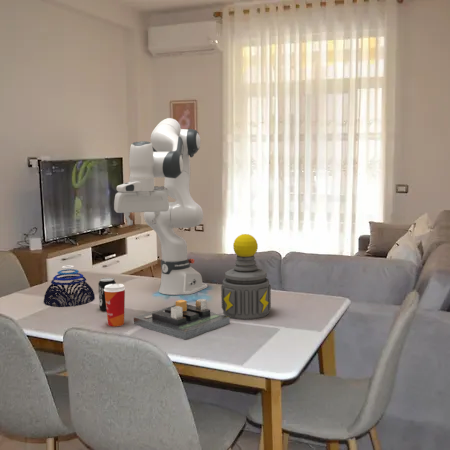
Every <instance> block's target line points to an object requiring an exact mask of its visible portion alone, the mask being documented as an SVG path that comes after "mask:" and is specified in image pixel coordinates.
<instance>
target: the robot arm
mask: <svg viewBox="0 0 450 450" xmlns="http://www.w3.org/2000/svg"><path fill="white" fill-rule="evenodd" d="M181 127H182V126H181V124H180V122H179V121H177V119H175V118H172V117H167V118H165V119H162V120H161V121H159V123H158V124H157V125H156V126H155V128H154V129H153V130H152V132H151V135H150V141H145V140H144V141H143V140H141V141H134V142H133V143H131V145H130V149H129V156H128V158H129V159H128V166H129V171H130V172H129V173H130V175H129V178H128V179H129V181H127V182H124V183H121V184H119V185H117V186H116V191H117V192H116V193H115V196H114V201H113V210H114V211H115V212H116V213H118V214H123V215H124V218H125V220H126V222H127V223H126V224H127V226H133V225H134V223H133V222H134V220H133V219H131V217H130V216H131V214H132V213H143V219H144V222H145V223H146V225H147V226H148V227H150V228H151V229H152V230H153V231H154V232H155V233H156V235H157V237H158V239H159V242H160V249H161V251H160V252H161V260H160V268H161V269H160V270H161V275H160V277H161V278H160V284H159V285H160V286H159V289H158V292H159V293H160V294H163V295H168V296H169V295H172V296H173V295H175V296H176V295H177V296H178V295H192V294H195V293H197V292H200V291H203V290H204V289H206V288H209V287H208V284H206V283H205V282H204V283H203V277H202V275H201V273H200V272H199V271H198V270H196V269H195V268H193V267H192V266H191V264H193V265H194V263H195V259H194V258H188V243H187V240H186V239H185V238H184V237H183V236H180V235H178V234H177V233H176V232H175V230H174V228H175V229H185V228H186V229H188V228H189V229H190V228H194V227H199V226H200V225H201V223H202V221H203V219H204V211H203V207H201V205H200V204H199V203H197V202H196V201H195V200H194V199H193V197H192V194H191V193H190V181H191V160H190V158H193V157H194V155H195V154H197V153H198V151H199V150H200V148H201V141H202V140H201V136H200V133H199V131H198V130H197V129H193V128H189V129H187V128H181ZM155 178H164V185H162V186H156V185H155ZM169 197H170V198H171V199H174V200H175V201H173V202H171V201H169Z"/></svg>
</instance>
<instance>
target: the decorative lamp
mask: <svg viewBox="0 0 450 450" xmlns="http://www.w3.org/2000/svg"><path fill="white" fill-rule="evenodd" d="M258 247H259V246H258V241H257V239H256V238H255V237H254V236H253V235H251V234H249V233H248V234H247V233H241V234H240V235H238V236H237V237H236V238H235V239H234V241H233V247H232V248H233V251H234V253H235V254H236V260H235V262H234V263H235V265H234V267H233V268H231V269H229V270H227V271H225V272H224V274H225V275H224V279H222V284H221V287H220V288H221V290H220V291H221V294H220V295H221V296H220V297H221V309H222V311H223V312H222V314H223V315H225V316H229V317H230V318H231V319H236V320H237V319H238V320H255V319H256V320H257V319H262V318H265V317H267V315H268V314H269V313H270V310H271V306H272V303H271V300H272V299H271V297H272V296H271V295H272V293H271V288H272V287H271V284H270V280H269V279H268V276H267V271H265V270H263V269H262V268H258V265H257V261H256V260H255V259H256V257H255V254H256V253H257V251H258Z"/></svg>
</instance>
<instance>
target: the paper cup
mask: <svg viewBox="0 0 450 450" xmlns="http://www.w3.org/2000/svg"><path fill="white" fill-rule="evenodd" d="M104 291H105V300H106V310H107V311H106V319H107V325H108V326H109V327H113V328H114V327H120V326H123V325H124V324H125V298H126V287H125V285H124V284H123V283H116V284H109V285H106V286H105V288H104Z"/></svg>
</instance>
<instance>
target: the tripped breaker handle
mask: <svg viewBox="0 0 450 450" xmlns="http://www.w3.org/2000/svg"><path fill="white" fill-rule="evenodd" d="M187 304H188V302H187V300H184V299H178V300H175V305H176V306H179V307H182V312H183V311H187Z"/></svg>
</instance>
